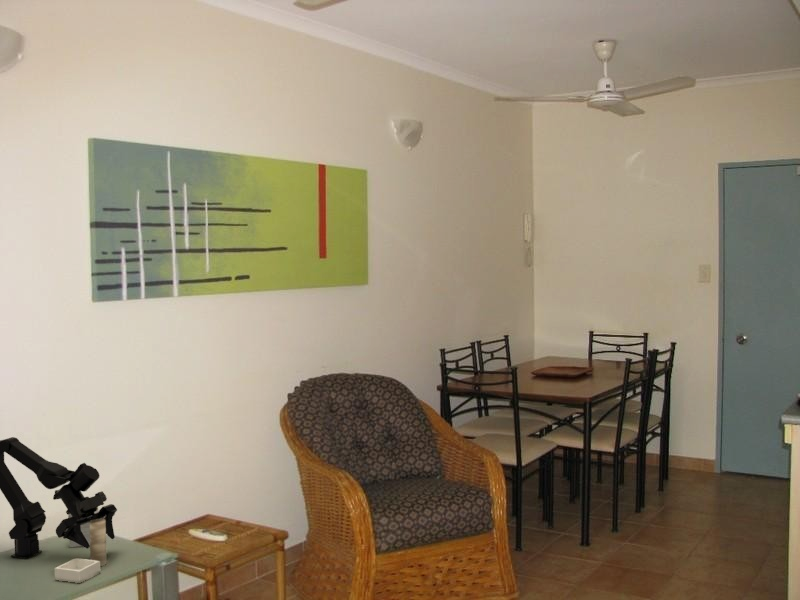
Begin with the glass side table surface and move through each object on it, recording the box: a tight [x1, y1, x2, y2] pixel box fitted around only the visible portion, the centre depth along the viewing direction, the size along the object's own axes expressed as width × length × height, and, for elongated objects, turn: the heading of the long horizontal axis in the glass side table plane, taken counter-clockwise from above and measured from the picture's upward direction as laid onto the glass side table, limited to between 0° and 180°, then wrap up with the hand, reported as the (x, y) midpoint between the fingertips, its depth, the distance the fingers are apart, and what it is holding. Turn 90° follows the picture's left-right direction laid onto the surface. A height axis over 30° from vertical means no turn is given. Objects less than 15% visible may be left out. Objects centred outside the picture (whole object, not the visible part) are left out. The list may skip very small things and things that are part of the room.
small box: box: [67, 506, 99, 548], centre depth 261 cm, size 8×6×13 cm
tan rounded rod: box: [89, 519, 108, 567], centre depth 242 cm, size 4×4×13 cm
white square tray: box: [54, 557, 101, 584], centre depth 233 cm, size 9×9×4 cm
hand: (101, 543), depth 242 cm, fingers open, 9 cm apart
